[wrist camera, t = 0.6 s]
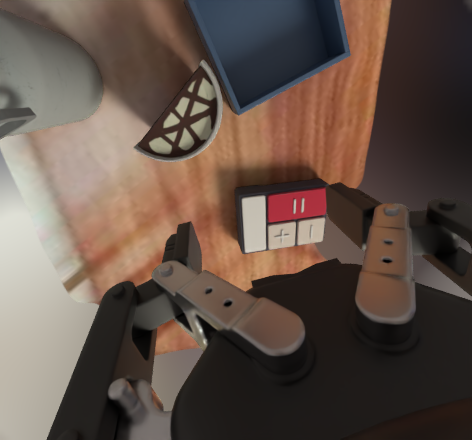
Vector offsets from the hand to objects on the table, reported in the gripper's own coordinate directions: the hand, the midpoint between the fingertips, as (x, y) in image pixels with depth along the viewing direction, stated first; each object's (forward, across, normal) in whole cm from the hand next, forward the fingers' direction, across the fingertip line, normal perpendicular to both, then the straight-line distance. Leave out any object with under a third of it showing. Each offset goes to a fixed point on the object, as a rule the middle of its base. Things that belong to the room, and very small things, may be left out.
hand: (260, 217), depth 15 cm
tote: (+26, -8, -12) cm, 30 cm away
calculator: (+26, -7, +14) cm, 31 cm away
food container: (+26, +4, -4) cm, 27 cm away
